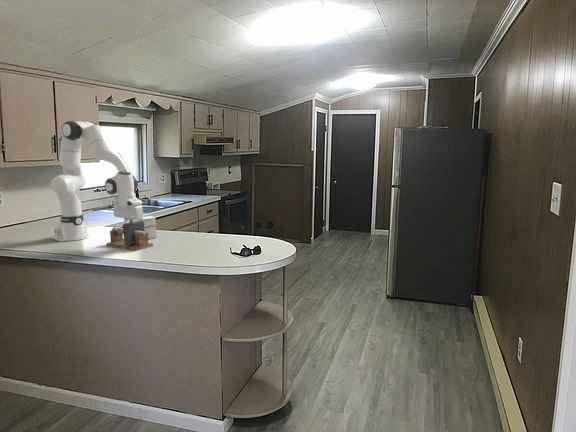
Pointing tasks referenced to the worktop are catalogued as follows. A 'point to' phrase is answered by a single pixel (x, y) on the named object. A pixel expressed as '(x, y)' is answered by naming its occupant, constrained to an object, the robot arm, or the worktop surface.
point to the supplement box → (149, 226)
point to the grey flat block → (131, 231)
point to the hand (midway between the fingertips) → (129, 226)
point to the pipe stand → (141, 243)
